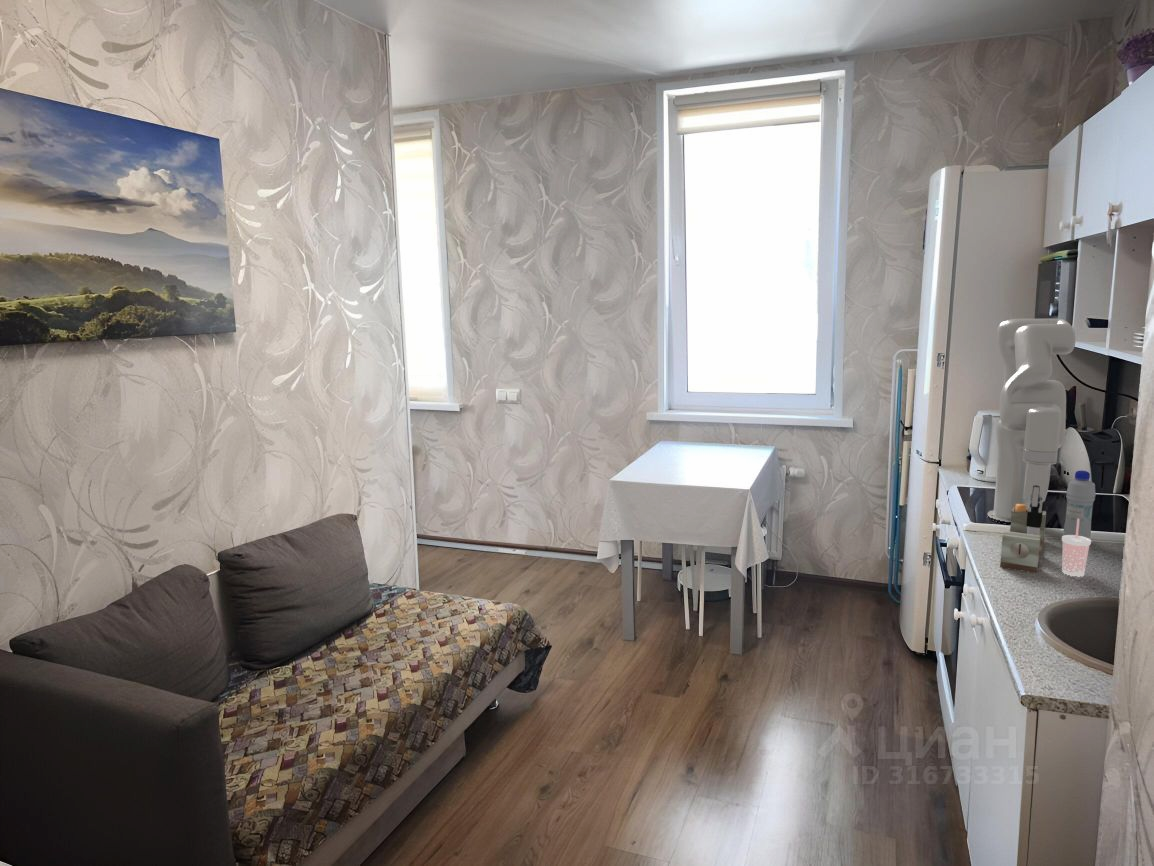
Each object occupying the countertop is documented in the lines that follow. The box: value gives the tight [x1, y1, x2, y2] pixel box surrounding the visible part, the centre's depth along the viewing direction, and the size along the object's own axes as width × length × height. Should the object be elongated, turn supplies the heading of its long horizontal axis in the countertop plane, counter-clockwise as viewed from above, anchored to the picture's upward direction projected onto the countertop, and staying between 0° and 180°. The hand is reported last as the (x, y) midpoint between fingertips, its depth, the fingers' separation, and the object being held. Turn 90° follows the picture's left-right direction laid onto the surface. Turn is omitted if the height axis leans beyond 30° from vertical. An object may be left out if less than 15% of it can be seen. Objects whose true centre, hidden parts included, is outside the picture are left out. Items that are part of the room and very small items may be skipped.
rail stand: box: [999, 508, 1047, 574], centre depth 204 cm, size 28×8×8 cm, turn 146°
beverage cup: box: [1061, 519, 1092, 578], centre depth 189 cm, size 6×6×14 cm
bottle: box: [1063, 470, 1097, 539], centre depth 211 cm, size 7×7×20 cm
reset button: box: [1015, 504, 1027, 512], centre depth 214 cm, size 3×3×4 cm
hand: (1033, 524), depth 201 cm, fingers closed on carriage, 2 cm apart
